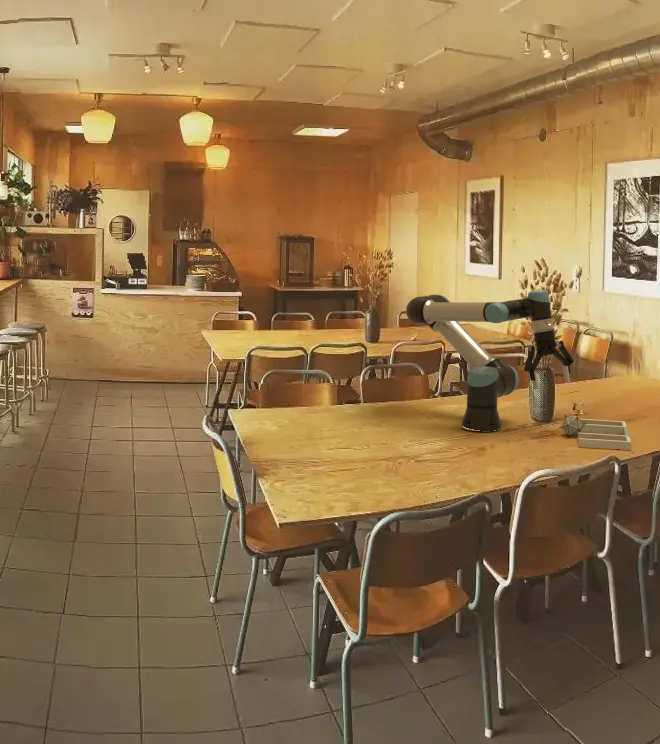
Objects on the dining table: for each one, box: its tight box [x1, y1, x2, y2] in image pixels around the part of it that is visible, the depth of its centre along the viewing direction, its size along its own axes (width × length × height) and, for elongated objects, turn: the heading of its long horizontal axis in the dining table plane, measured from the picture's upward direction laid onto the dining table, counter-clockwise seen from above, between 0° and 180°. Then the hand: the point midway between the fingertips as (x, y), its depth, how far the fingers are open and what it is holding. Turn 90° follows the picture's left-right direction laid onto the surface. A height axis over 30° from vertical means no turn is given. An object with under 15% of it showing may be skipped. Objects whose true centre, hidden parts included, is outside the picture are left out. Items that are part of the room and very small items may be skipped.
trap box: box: [577, 418, 632, 451], centre depth 304 cm, size 18×32×3 cm, turn 164°
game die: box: [559, 413, 586, 438], centre depth 307 cm, size 9×8×10 cm
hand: (552, 385), depth 312 cm, fingers open, 13 cm apart
